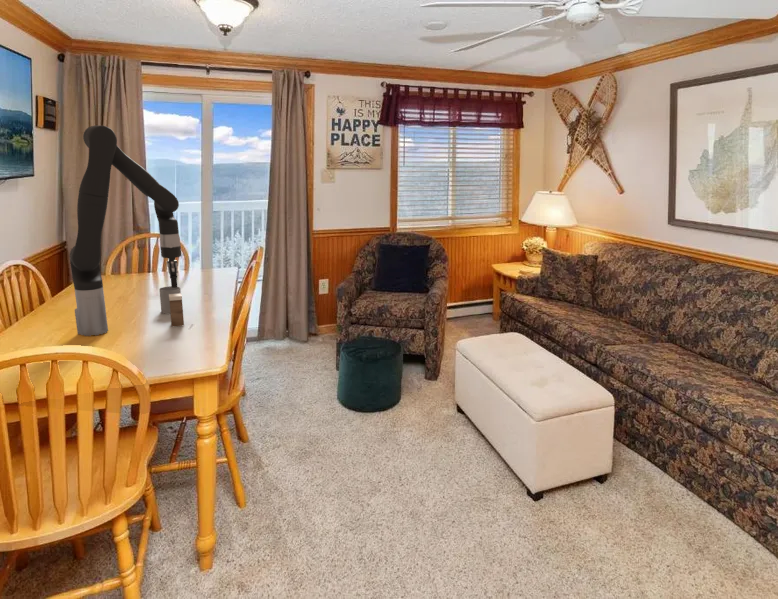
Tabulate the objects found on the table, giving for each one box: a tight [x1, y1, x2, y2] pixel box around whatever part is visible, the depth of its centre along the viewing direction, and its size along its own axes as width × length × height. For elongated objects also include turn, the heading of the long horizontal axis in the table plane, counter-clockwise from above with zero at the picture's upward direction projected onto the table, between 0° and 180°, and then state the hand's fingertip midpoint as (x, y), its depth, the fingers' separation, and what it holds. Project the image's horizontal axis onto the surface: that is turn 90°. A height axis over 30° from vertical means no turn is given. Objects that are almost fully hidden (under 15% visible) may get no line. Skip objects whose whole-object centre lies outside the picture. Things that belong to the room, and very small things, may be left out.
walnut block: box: [169, 293, 185, 327], centre depth 212 cm, size 4×4×12 cm
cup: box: [159, 285, 182, 314], centre depth 231 cm, size 8×8×10 cm
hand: (174, 287), depth 218 cm, fingers closed
